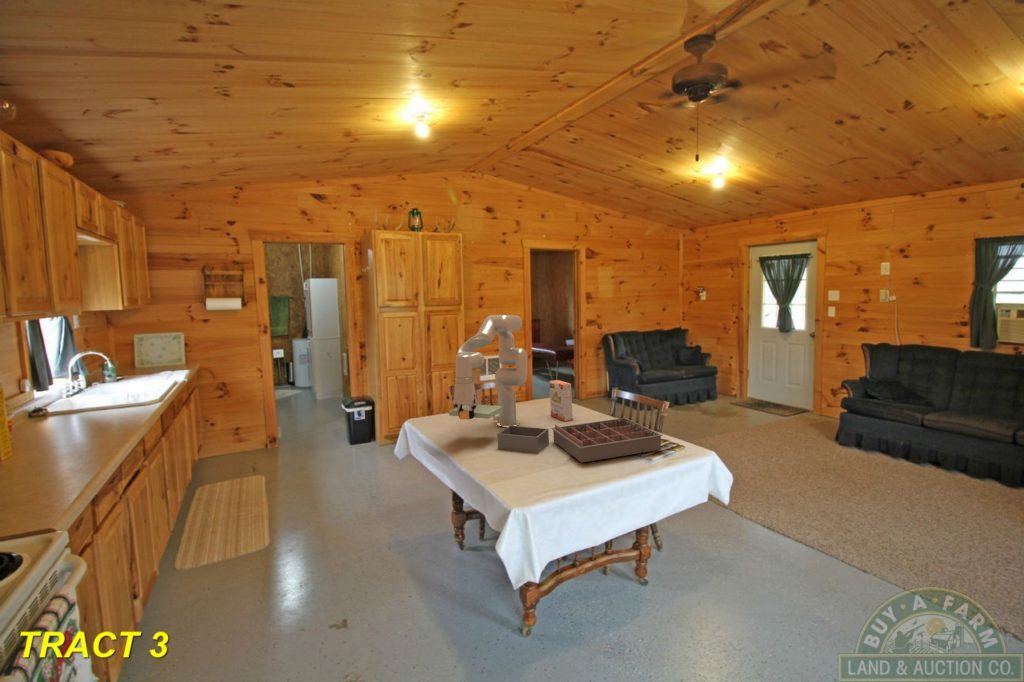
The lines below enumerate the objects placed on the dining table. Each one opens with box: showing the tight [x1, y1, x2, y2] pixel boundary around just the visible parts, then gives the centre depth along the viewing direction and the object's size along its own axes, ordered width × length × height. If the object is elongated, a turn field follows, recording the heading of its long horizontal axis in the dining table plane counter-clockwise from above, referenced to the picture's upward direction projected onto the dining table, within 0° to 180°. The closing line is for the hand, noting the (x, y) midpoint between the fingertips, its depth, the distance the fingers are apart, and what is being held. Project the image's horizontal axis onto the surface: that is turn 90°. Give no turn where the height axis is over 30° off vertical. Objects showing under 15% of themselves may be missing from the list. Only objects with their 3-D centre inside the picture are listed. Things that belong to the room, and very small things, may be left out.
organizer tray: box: [550, 417, 663, 463], centre depth 228 cm, size 32×40×10 cm
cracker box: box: [549, 379, 574, 422], centre depth 280 cm, size 14×6×21 cm, turn 28°
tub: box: [496, 425, 550, 454], centre depth 233 cm, size 20×14×8 cm
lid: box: [448, 403, 503, 421], centre depth 244 cm, size 22×20×4 cm
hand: (466, 417), depth 237 cm, fingers closed on lid, 4 cm apart
